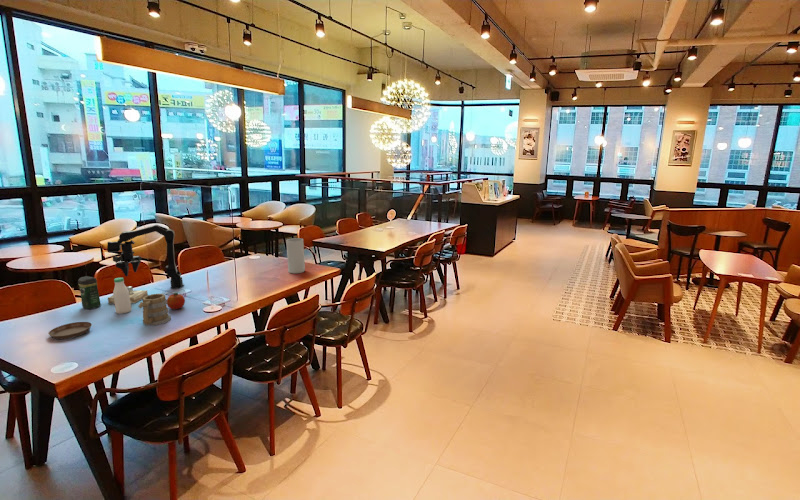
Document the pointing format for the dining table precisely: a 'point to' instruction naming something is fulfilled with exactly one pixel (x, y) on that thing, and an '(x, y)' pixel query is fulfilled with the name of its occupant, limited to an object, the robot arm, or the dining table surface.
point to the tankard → (155, 309)
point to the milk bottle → (121, 297)
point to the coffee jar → (89, 292)
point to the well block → (132, 296)
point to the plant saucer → (70, 330)
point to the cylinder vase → (295, 255)
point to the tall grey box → (130, 290)
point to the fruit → (175, 301)
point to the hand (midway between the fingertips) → (130, 274)
